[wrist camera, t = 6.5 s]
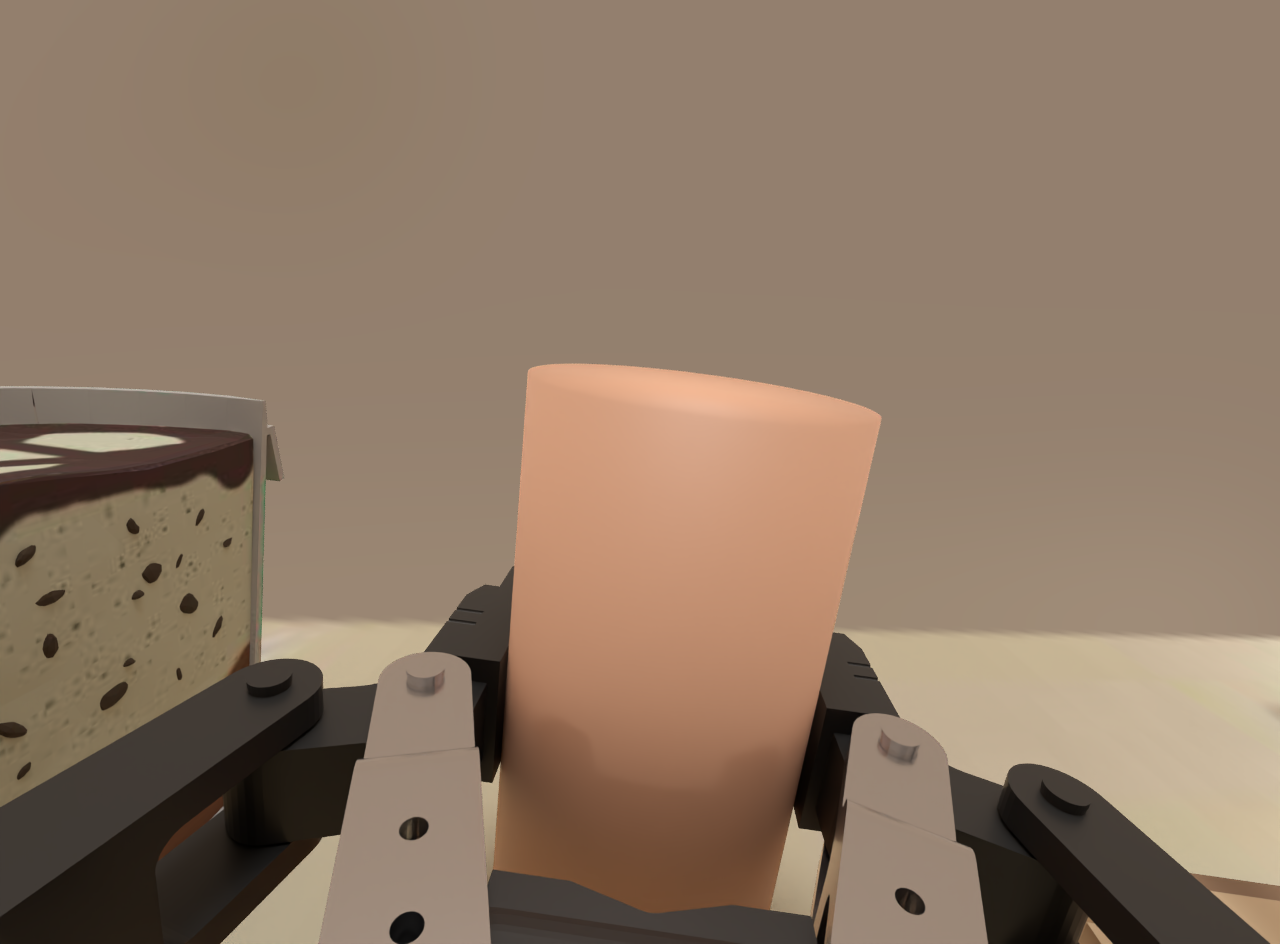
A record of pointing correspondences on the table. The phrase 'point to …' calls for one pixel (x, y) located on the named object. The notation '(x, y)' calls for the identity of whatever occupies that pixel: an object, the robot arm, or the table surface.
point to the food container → (123, 565)
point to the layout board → (1257, 904)
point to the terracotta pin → (670, 626)
